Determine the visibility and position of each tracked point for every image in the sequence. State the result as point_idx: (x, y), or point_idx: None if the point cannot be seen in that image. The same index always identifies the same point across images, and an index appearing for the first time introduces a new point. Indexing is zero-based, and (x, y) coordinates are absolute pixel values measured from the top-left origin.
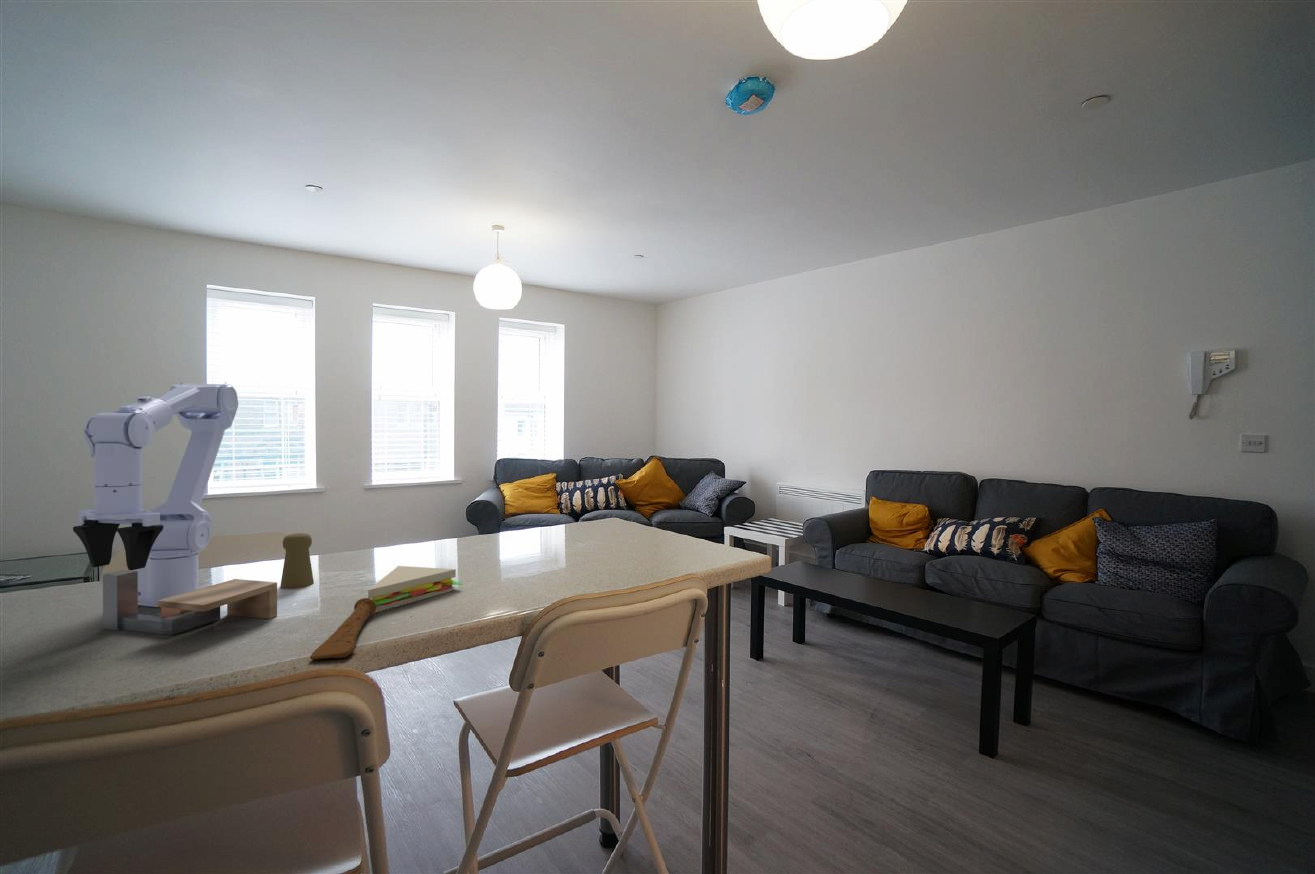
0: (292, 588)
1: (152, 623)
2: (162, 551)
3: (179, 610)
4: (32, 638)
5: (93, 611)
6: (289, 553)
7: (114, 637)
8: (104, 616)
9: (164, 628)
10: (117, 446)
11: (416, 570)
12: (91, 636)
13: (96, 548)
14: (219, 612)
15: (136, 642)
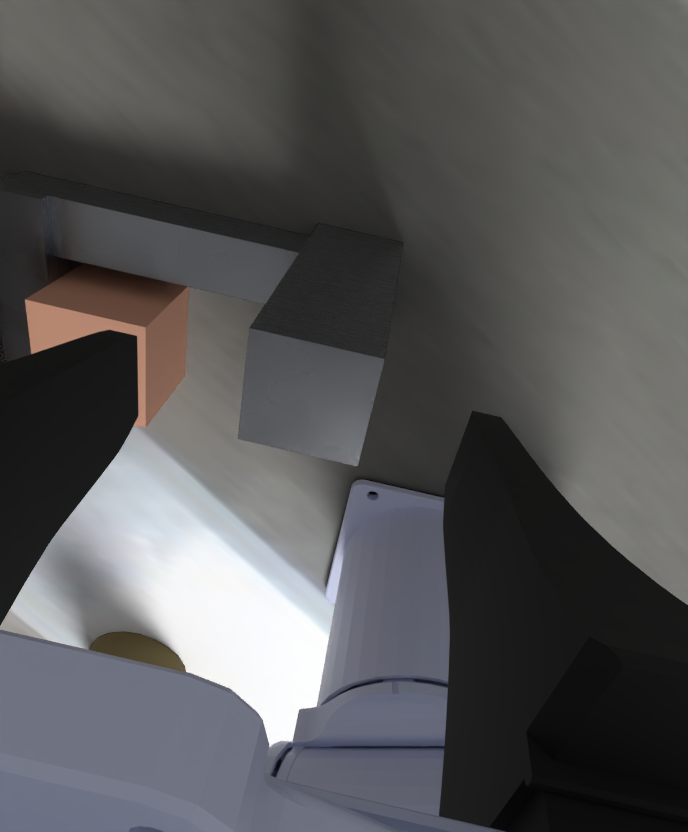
0: (113, 637)
1: (114, 207)
2: (414, 733)
3: (47, 291)
4: (641, 96)
5: (648, 456)
6: None
7: (245, 134)
8: (391, 259)
9: (51, 187)
10: None
11: None
12: (365, 142)
13: (488, 527)
14: None
15: (80, 71)
